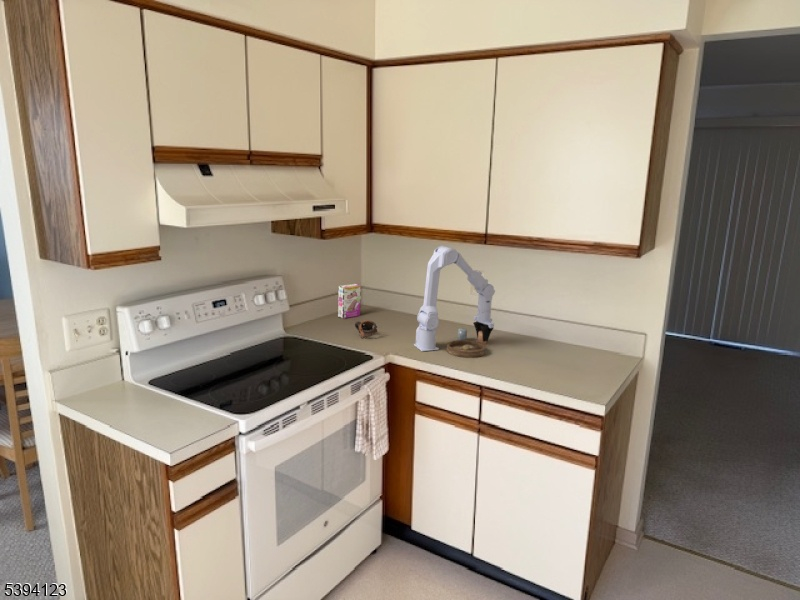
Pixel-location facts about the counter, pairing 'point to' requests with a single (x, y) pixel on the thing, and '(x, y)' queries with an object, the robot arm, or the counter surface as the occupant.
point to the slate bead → (462, 334)
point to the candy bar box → (349, 301)
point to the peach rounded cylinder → (481, 338)
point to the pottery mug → (366, 328)
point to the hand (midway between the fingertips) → (482, 339)
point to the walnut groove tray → (466, 348)
